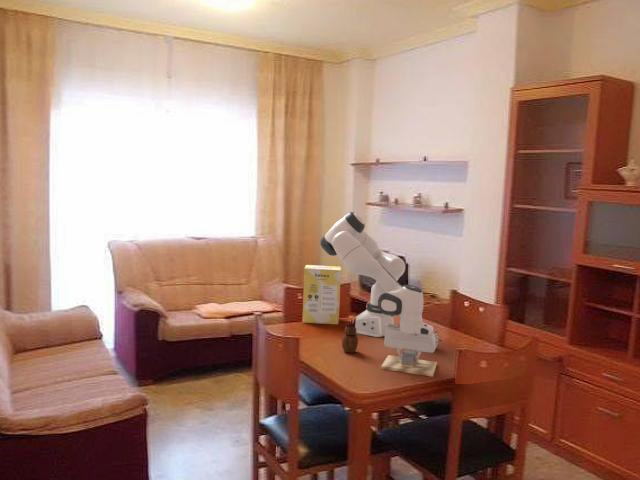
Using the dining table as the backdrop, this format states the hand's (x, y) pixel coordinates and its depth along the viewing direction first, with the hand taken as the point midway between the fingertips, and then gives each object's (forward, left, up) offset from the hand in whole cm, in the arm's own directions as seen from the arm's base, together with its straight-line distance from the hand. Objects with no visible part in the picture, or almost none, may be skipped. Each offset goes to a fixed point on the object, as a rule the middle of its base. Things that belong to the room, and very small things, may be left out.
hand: (408, 360), depth 213 cm
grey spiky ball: (+5, +27, -3) cm, 27 cm away
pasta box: (-54, +50, -3) cm, 73 cm away
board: (0, 0, -3) cm, 3 cm away
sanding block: (0, 0, -1) cm, 1 cm away
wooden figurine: (-27, +8, -3) cm, 28 cm away
